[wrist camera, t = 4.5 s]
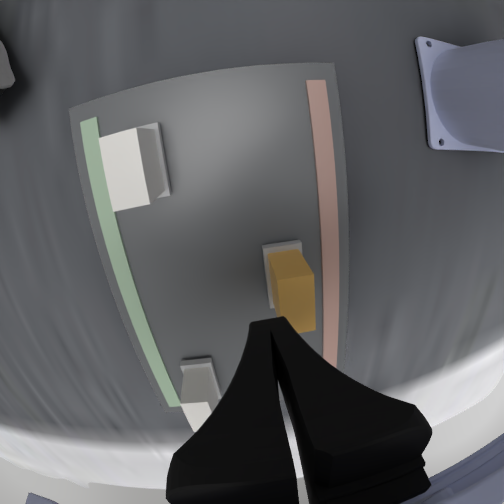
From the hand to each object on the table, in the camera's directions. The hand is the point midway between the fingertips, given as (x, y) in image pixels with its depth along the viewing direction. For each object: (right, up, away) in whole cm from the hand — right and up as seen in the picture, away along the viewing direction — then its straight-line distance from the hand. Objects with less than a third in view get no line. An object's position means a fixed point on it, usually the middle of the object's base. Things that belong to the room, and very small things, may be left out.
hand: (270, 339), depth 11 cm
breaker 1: (-6, +8, +2) cm, 10 cm away
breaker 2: (-4, -5, +8) cm, 10 cm away
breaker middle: (+1, +2, +5) cm, 6 cm away
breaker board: (-2, +3, +7) cm, 8 cm away
